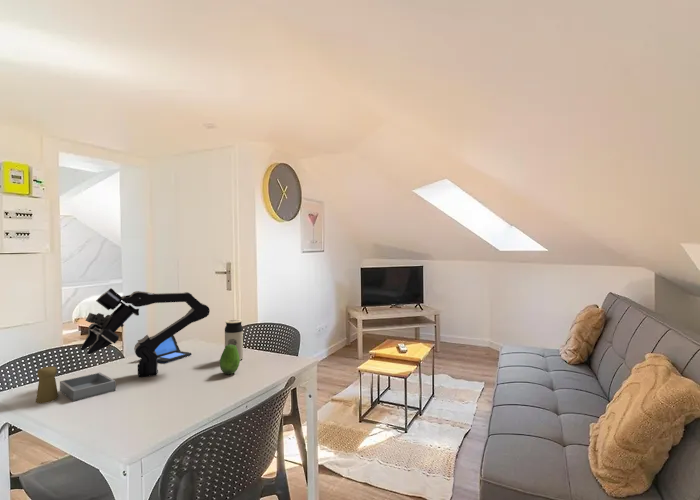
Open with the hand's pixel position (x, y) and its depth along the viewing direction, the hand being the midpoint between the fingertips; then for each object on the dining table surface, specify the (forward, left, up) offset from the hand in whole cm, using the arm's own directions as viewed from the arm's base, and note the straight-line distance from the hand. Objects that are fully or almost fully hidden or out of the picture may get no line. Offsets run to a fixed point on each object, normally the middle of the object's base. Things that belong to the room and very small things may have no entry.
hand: (84, 351), depth 139 cm
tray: (-2, +4, -13) cm, 14 cm away
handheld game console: (-26, -32, -14) cm, 43 cm away
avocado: (-51, +3, -13) cm, 53 cm away
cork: (+8, +9, -13) cm, 18 cm away
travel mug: (-54, -17, -13) cm, 58 cm away
